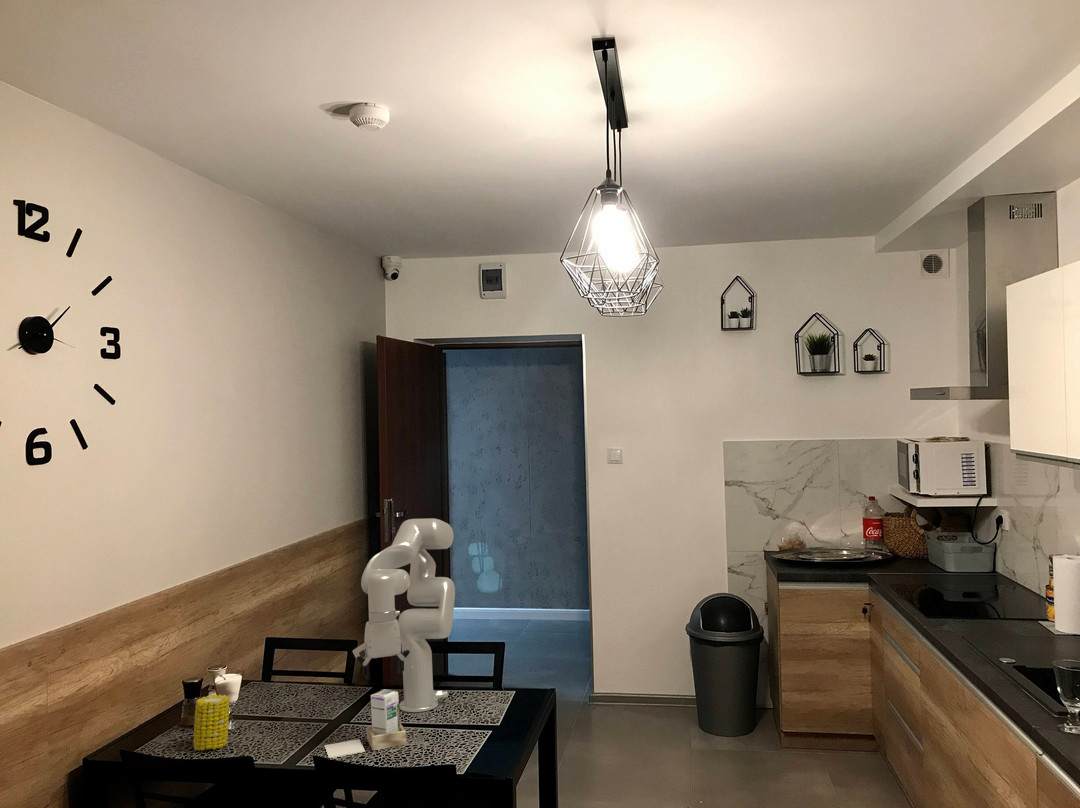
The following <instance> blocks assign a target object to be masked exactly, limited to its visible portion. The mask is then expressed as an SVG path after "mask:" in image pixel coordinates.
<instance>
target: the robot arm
mask: <svg viewBox="0 0 1080 808" xmlns="http://www.w3.org/2000/svg"><path fill="white" fill-rule="evenodd" d="M454 538H455V537H454V530H453V528H452V526H451V525H450V524H449V523H447V522H445V521H443V520H441V519H438V518H434V517H433V518H430V517H429V518H411V519H407V520H404V521H403V522H402V523H401V525H400V526H399V529H398V530H397V532H396V535H395V537H394V539H393V542H392V543H391V545H390V546H388V547H386V548H384V549H383V550H381V551H380V552H378V553H376V554H375V555H373V556H372V557H371V559H369V561H368V563H367V564H366V567H365V568H364V570H363V573H362V575H361V581H360V585H361V589H362V591H363V592H364V593H365V594H367V595H368V596H367V597H368V621H366V623H365V626H364V627H365V628H364V642H363V643H362V644H360V645H359V646H357V647H355V648H354V649H353V650H352V653H353V655H354V658H355V659H356V661H358V663H360V664H361V665H362V676H363V677H364V678H365V679H366V680H370V666H369V663H370V661H371V660H372V659H378V658H385V657H393V656H397V657H398V659H397V673H398V674H399V675H400V676H402V682H403V683H402V684H403V700H402V701H400V703H399V710H401V711H403V712H407V713H423V712H427V711H430V710H434V709H435V708H437V707H438V706H439V699H444V698H448V695H449V693H448V690H445V691H442V690H437V691H435V690H434V683H433V682H434V680H433V678H434V677H433V656H432V655H433V652H432V649H431V646H430V645H429V643H428V641H426V640H431V639H432V640H438V639H439V640H441V639H446V638H448V637H449V636H450V635H451V633H452V629H453V620H454V619H453V618H454V611H455V599H456V587H455V583H454V581H453V580H452V579H451V578H449V577H446V576H436V568H437V565H436V562H435V560H434V558H433V557H432V556H431V554H430V553H429V552H428V551H427V550H447V549H448V548H450V547H451V546H452V545H453V542H454ZM409 564H410V571H409V573H408V572H407V571H406V570H405V569H401V568H402V567H404V566H407V565H409ZM406 592H407V594H406V598H407V601H408V603H409V605H412V606H414V607H438V608H409V609H406V610H403V611H402V612H400V610H396V607H395V606H396V605H395V602H396V601H395V596H397V595H402V594H404V593H406ZM397 617H398V619H397ZM362 651H364V654H365V656H363V657H362V656H361V655H360V653H361V652H362Z"/></svg>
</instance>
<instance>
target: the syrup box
mask: <svg viewBox="0 0 1080 808" xmlns="http://www.w3.org/2000/svg"><path fill="white" fill-rule="evenodd" d="M399 700H400V699H399V692H398V690H393V689H386V688H385V689H382V690H380V691H377V692H375V693H373V694H371V695H370V704H371V705H370V706H371V726H372V731H373V733H374V735H375V736H376V735H382V734H388V733H393V732H399V731H400V723H401V721H400V708H399V704H400V703H399Z"/></svg>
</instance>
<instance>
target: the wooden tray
mask: <svg viewBox="0 0 1080 808" xmlns="http://www.w3.org/2000/svg"><path fill="white" fill-rule="evenodd" d="M367 740H368V741H367ZM366 741H367V743H368V742H369V743H368V745H369V744H370V745H369V746H371V747H370V748H372V749H371V751H372V750H378V751H381V750H380V749H384V750H386V749H385V748H389V749H391V748H390V747H395V748H397V747H396V746H400V747H403V746H402V745H406V746H407V731H406V729H405V728H404V726H403V725H402V723H401V722H400V731H399V732H393V733H388V734H382V735H376V736H375V735H374V733H373V731H372V725H367V726H366Z"/></svg>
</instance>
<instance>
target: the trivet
mask: <svg viewBox="0 0 1080 808" xmlns="http://www.w3.org/2000/svg"><path fill="white" fill-rule="evenodd" d="M324 747H325V748H324ZM323 748H324V750H325V749H326V751H325V753H326V752H327V753H326V756H327V755H328V756H327V758H333V759H332V760H335V759H338V758H337V757H341V758H343V757H342V756H346V755H352V754H357V753H362V752H365V753H366V750H365V748H364V746H363V743H362V742H361V740H360V739H359V738H358V739H353V740H348V741H341V742H340V741H339V742H336V743H330V744H324V746H323ZM352 756H353V755H352Z"/></svg>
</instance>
